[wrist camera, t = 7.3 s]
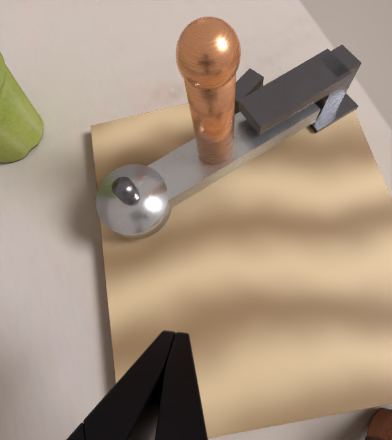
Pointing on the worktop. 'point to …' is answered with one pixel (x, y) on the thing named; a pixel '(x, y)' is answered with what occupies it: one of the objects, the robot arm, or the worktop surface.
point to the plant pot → (16, 119)
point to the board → (260, 274)
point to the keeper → (300, 91)
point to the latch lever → (196, 135)
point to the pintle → (125, 190)
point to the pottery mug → (380, 426)
